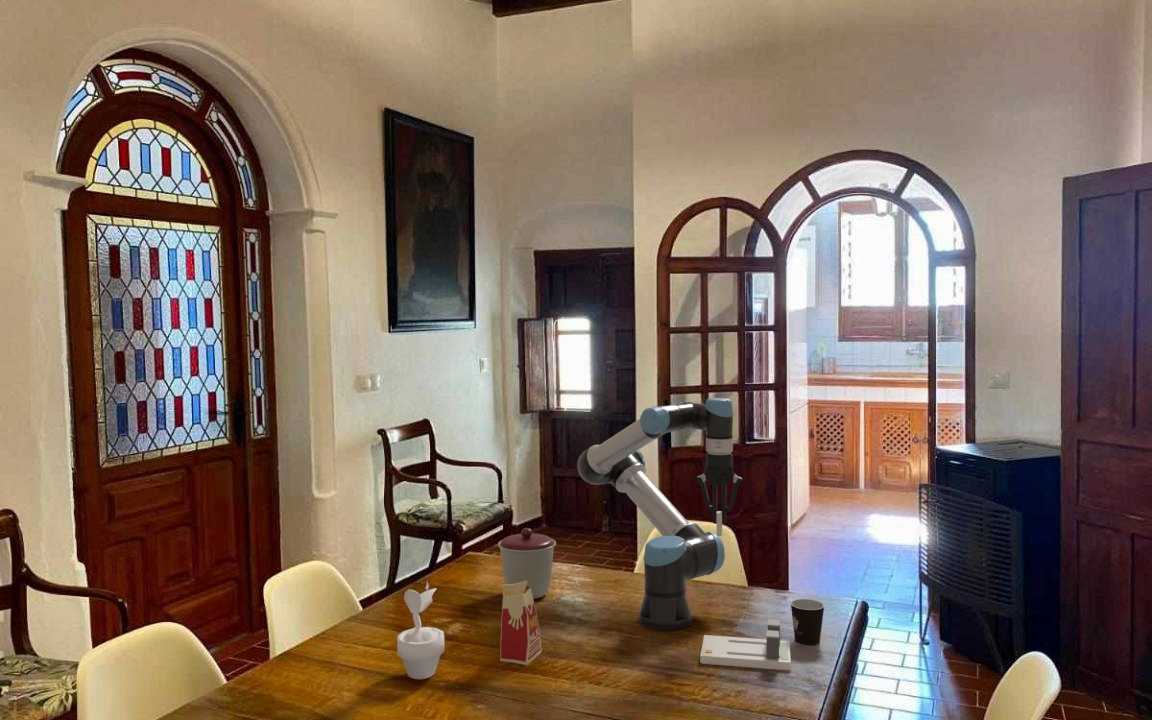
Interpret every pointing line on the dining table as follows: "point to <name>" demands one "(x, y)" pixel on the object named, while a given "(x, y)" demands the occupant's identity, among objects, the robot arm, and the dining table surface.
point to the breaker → (774, 626)
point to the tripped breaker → (772, 644)
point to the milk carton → (519, 625)
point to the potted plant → (420, 639)
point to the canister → (528, 560)
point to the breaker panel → (743, 653)
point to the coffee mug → (807, 621)
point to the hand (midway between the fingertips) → (719, 534)
